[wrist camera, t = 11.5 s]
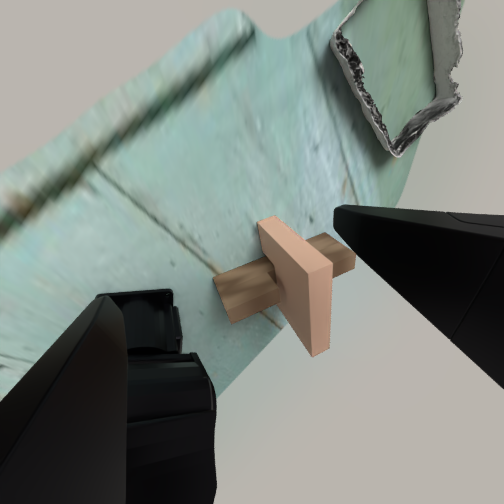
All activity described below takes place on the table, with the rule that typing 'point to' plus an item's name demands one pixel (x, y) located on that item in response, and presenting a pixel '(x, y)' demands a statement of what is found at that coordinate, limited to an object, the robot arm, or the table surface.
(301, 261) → the crosspiece
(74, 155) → the table surface
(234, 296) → the cross rail
